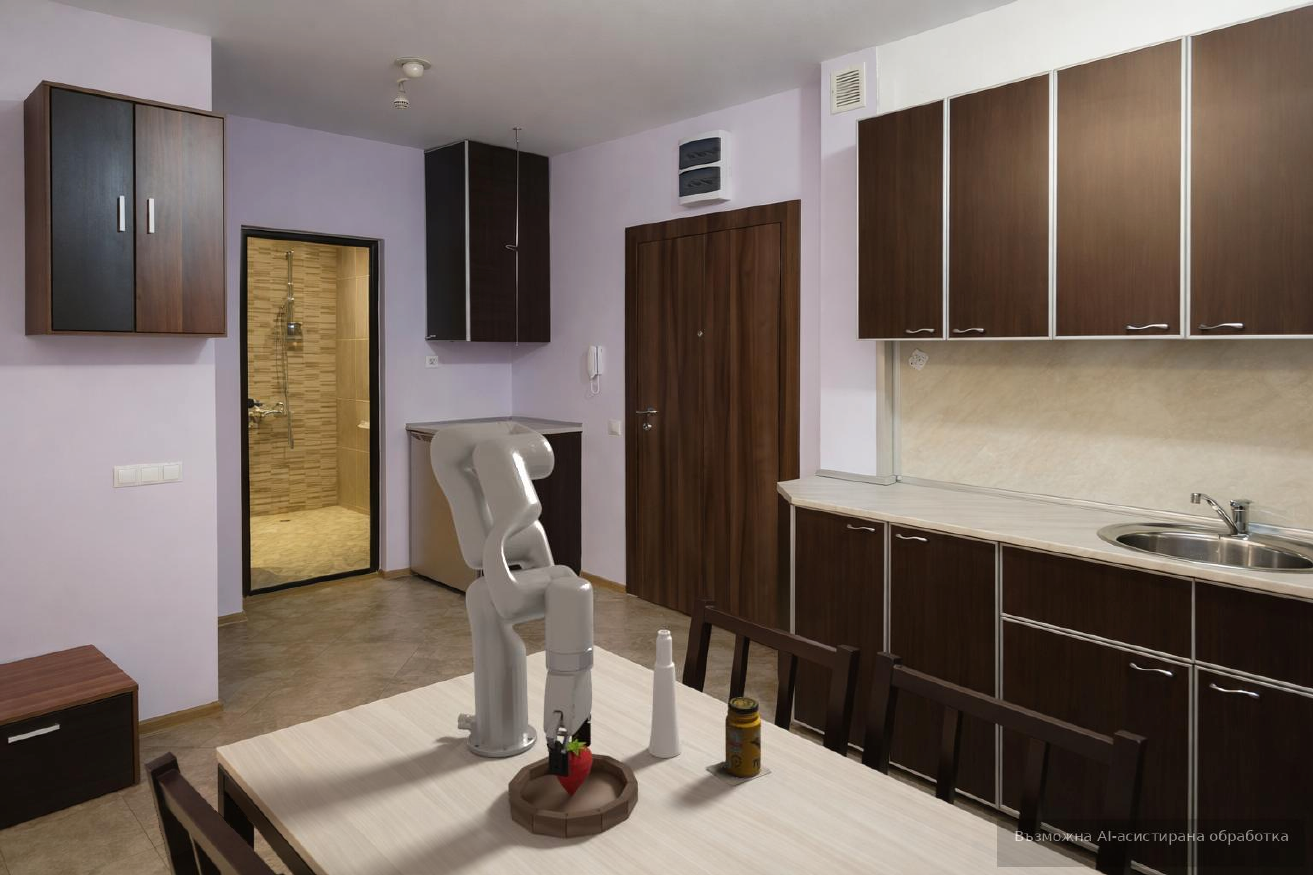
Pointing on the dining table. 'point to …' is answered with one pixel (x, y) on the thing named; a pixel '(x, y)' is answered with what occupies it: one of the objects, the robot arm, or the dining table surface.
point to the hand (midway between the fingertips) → (570, 759)
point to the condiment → (741, 743)
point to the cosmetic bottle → (664, 702)
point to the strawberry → (576, 766)
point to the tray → (573, 799)
